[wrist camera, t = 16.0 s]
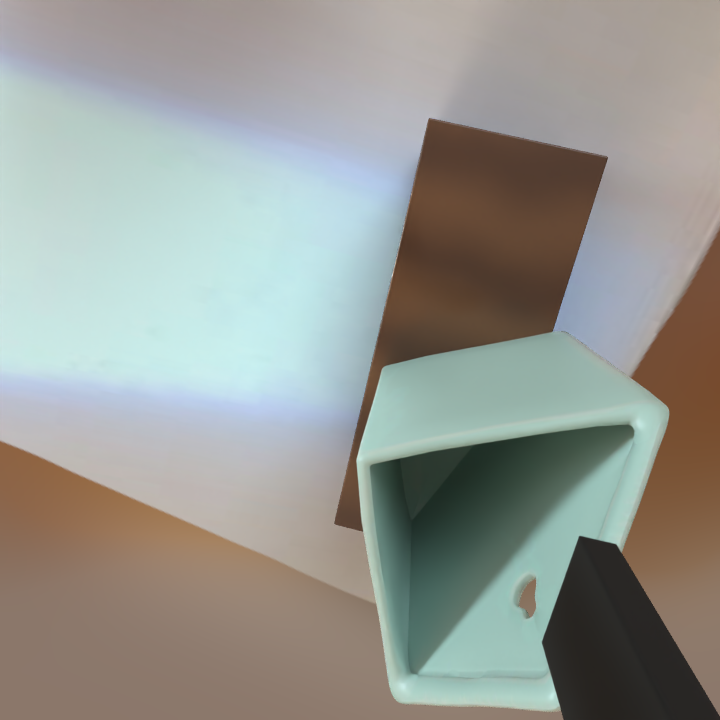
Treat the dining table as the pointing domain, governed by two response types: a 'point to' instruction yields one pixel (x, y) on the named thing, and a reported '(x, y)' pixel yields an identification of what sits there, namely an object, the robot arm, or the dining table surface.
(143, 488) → the dining table surface
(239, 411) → the dining table surface
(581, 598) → the robot arm
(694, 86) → the dining table surface
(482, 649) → the planter
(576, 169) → the shelf
